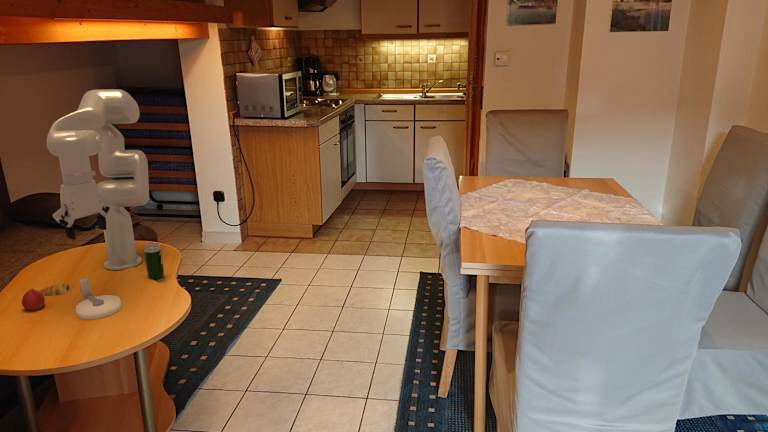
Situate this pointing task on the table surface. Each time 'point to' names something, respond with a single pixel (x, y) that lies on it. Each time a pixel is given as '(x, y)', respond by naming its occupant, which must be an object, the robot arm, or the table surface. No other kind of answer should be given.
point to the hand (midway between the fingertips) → (87, 233)
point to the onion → (33, 300)
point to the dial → (96, 304)
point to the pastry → (55, 290)
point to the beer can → (154, 262)
